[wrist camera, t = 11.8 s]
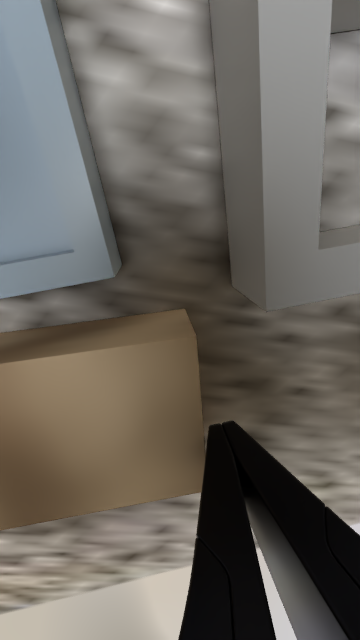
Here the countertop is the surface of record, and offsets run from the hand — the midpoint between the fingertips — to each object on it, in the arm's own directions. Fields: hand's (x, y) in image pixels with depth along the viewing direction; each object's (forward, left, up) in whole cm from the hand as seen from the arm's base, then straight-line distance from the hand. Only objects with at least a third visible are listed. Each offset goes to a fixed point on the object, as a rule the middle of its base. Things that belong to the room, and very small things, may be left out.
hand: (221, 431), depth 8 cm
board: (+6, -1, -2) cm, 6 cm away
